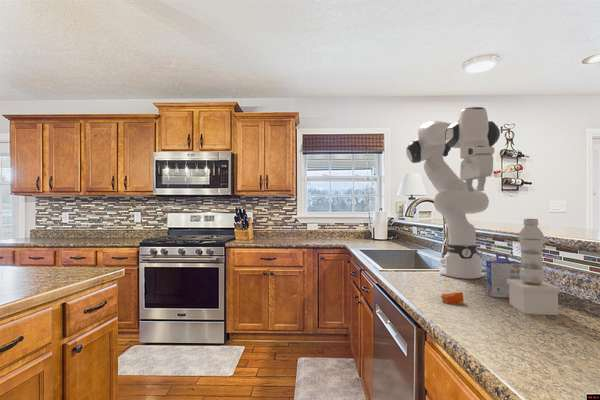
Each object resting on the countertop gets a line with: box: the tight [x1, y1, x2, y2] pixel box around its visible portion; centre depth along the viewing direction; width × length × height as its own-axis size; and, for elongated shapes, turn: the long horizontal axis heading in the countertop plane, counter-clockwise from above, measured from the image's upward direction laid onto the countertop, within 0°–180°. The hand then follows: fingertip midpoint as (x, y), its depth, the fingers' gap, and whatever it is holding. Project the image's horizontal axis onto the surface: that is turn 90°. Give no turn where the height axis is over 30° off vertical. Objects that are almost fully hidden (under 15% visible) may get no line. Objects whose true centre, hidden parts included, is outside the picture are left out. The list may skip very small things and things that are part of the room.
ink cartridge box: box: [485, 253, 521, 299], centre depth 111 cm, size 10×6×14 cm, turn 78°
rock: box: [440, 291, 464, 305], centre depth 105 cm, size 12×12×4 cm
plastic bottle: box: [518, 218, 546, 284], centre depth 97 cm, size 6×7×20 cm
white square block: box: [507, 279, 562, 316], centre depth 97 cm, size 10×10×8 cm
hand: (475, 191), depth 110 cm, fingers open, 8 cm apart
